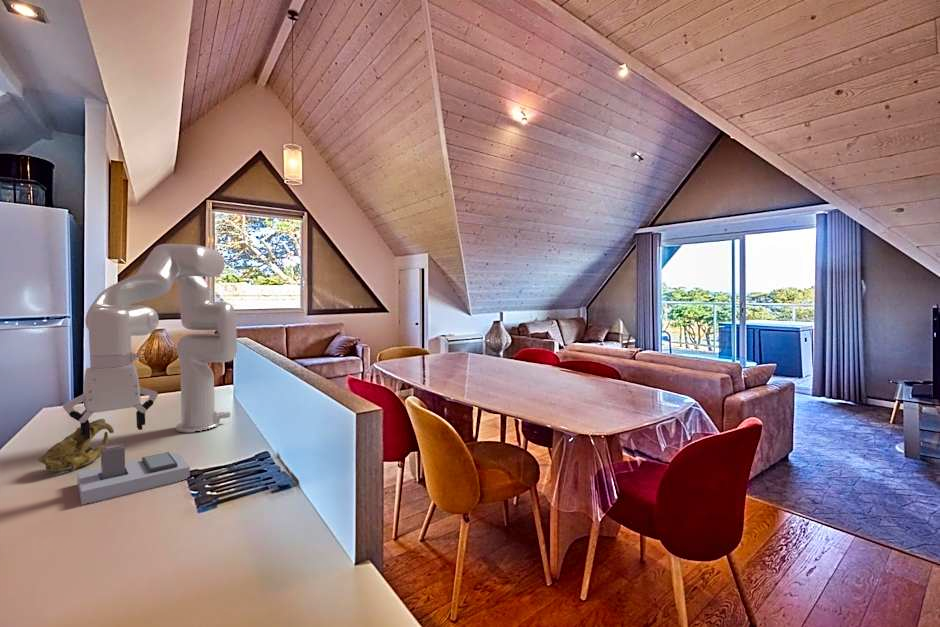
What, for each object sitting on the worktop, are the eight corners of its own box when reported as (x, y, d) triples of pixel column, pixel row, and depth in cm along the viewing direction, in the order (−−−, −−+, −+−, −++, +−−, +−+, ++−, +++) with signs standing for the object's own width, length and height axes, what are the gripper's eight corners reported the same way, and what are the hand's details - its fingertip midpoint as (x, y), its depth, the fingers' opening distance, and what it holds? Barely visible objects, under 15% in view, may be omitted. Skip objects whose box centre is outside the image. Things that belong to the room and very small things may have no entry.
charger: (123, 480, 107) (122, 442, 106) (125, 485, 104) (124, 446, 103) (101, 484, 104) (100, 446, 103) (103, 490, 101) (102, 450, 101)
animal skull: (130, 444, 123) (114, 416, 118) (72, 488, 111) (51, 460, 106) (106, 437, 126) (89, 411, 121) (47, 480, 113) (25, 452, 108)
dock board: (176, 462, 119) (176, 448, 118) (189, 478, 109) (189, 462, 108) (77, 484, 105) (77, 467, 105) (81, 505, 95) (81, 486, 95)
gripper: (153, 355, 111) (155, 421, 113) (60, 363, 99) (63, 437, 101) (159, 359, 106) (161, 429, 107) (61, 368, 94) (65, 446, 95)
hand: (114, 432), depth 104 cm, fingers open, 9 cm apart
